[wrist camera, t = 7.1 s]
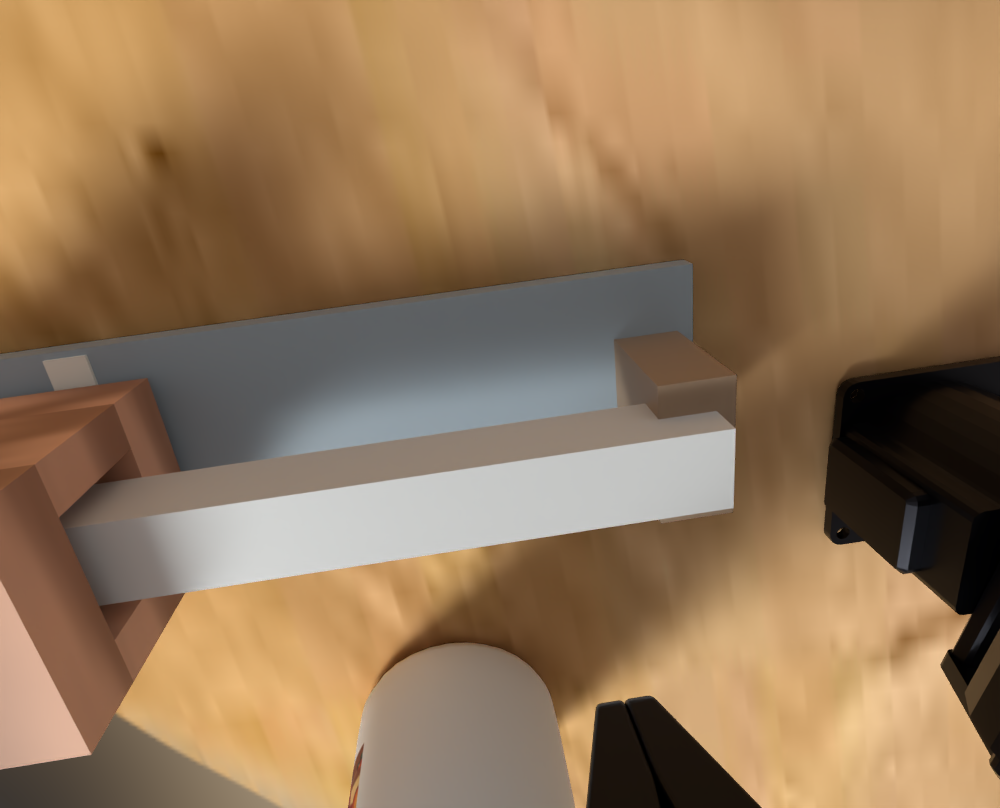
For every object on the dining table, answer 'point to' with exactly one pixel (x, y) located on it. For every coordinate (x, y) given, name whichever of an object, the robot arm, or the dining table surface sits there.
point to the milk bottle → (460, 735)
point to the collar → (68, 567)
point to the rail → (403, 430)
